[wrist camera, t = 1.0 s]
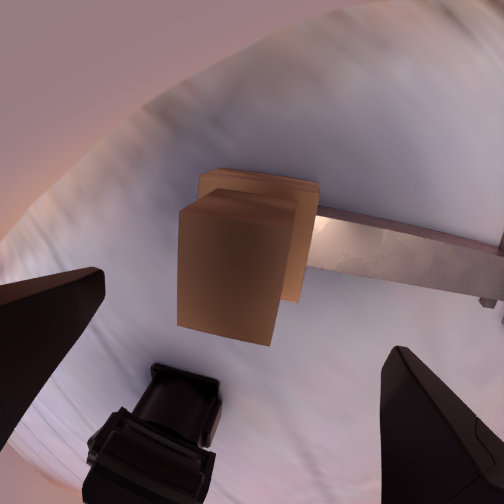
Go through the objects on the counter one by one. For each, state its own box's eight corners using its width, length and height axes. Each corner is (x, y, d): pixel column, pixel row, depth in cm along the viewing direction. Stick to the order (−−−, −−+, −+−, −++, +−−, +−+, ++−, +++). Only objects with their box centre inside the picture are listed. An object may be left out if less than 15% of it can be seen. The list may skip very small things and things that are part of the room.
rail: (214, 254, 21) (202, 269, 19) (222, 166, 19) (209, 171, 17) (493, 304, 19) (506, 320, 16) (519, 232, 16) (536, 244, 14)
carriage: (212, 257, 21) (157, 328, 13) (220, 167, 19) (155, 194, 11) (301, 273, 20) (291, 359, 12) (318, 182, 18) (323, 221, 10)
